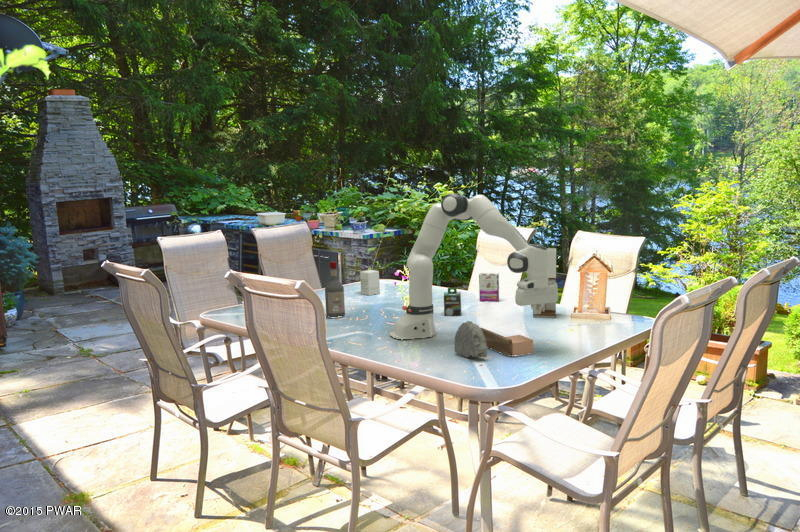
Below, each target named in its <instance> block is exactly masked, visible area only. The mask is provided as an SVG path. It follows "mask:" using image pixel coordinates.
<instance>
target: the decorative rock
mask: <svg viewBox="0 0 800 532" xmlns="http://www.w3.org/2000/svg"><path fill="white" fill-rule="evenodd" d="M457 328H458V330H457V331H456V332H455V334H454V335H455V336H454V342H453V343H454V353H456V354H459V355H461V356H463V357H465V358H467V357H468V358H467V359H470V358H469V357H472V356H473V357H474V358H487V355H488V348H487V345H486V339H485V337H484V334H483V332H482V330H481V328H482V327H481V326H480V325H478V324H476V323H474V322H473V321H469V320H468V321H466V322H463V323H461V324H460V325H459V326H458V327H457ZM473 357H472V358H473Z"/></svg>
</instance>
